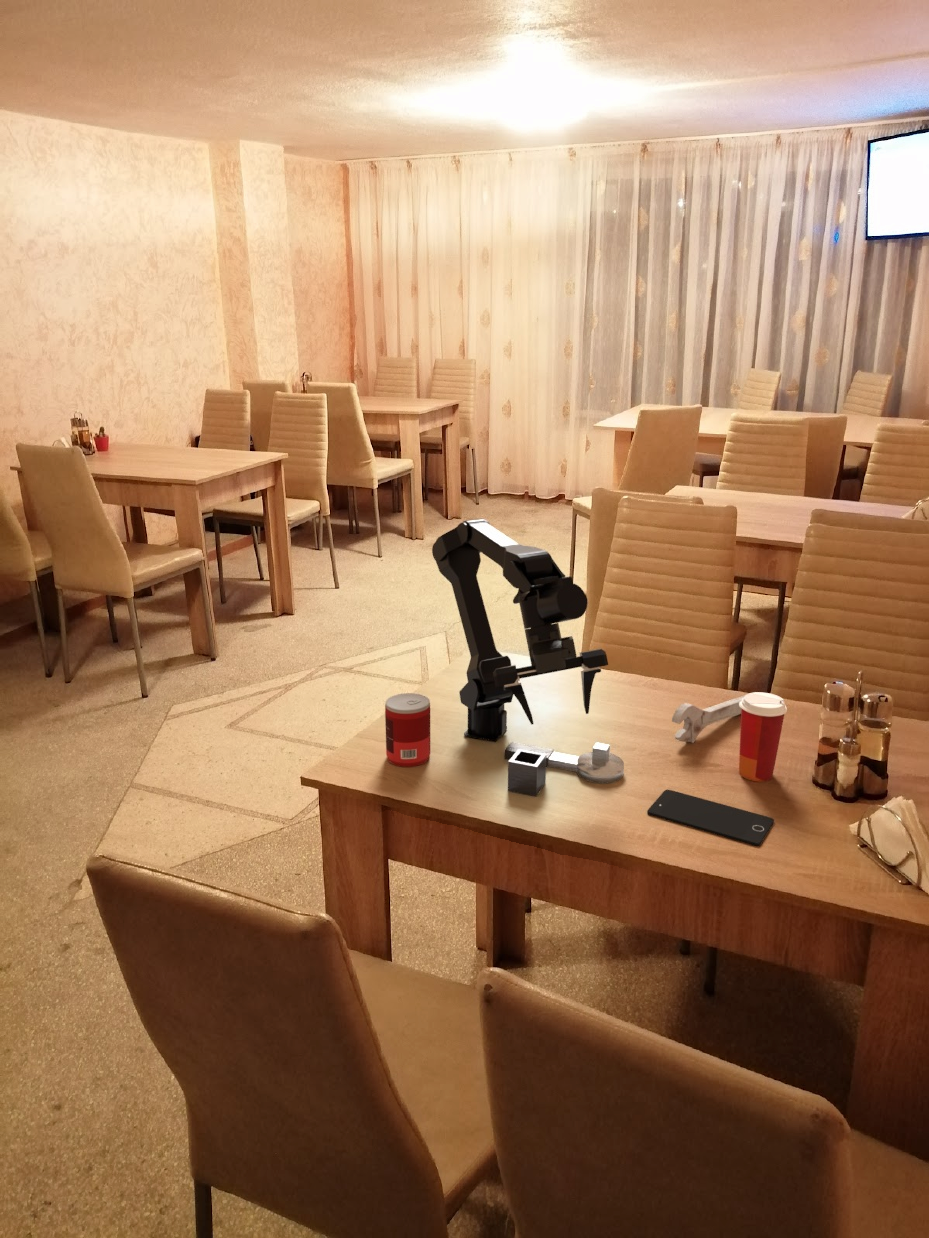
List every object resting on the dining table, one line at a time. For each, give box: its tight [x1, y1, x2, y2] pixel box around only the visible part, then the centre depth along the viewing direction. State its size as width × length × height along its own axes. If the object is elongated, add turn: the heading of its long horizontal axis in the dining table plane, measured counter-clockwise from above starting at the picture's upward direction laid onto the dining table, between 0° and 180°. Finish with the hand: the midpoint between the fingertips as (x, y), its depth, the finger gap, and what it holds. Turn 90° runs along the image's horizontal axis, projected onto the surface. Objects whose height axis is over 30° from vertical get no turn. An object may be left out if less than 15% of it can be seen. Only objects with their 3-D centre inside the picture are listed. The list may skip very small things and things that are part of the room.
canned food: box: [384, 692, 431, 768], centre depth 167 cm, size 8×8×11 cm
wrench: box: [671, 694, 746, 744], centre depth 181 cm, size 8×2×30 cm
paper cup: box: [738, 691, 788, 782], centre depth 162 cm, size 8×8×14 cm
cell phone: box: [646, 789, 775, 848], centre depth 150 cm, size 9×18×1 cm, turn 58°
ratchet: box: [503, 741, 625, 784], centre depth 166 cm, size 21×8×5 cm, turn 68°
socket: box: [507, 749, 547, 798], centre depth 158 cm, size 5×5×6 cm
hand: (559, 718), depth 156 cm, fingers open, 9 cm apart
